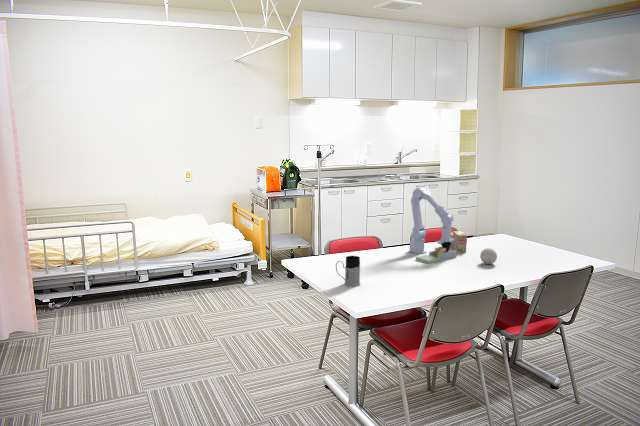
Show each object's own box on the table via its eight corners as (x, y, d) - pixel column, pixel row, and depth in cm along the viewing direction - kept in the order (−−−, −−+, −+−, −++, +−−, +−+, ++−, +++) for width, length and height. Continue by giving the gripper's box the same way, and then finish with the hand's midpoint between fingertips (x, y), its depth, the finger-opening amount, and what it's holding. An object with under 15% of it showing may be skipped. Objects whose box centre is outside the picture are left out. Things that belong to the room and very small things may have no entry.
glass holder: (363, 285, 280) (363, 258, 277) (338, 288, 275) (338, 261, 273) (356, 281, 288) (357, 254, 286) (332, 283, 283) (333, 256, 281)
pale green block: (415, 260, 333) (416, 253, 332) (444, 254, 348) (444, 247, 348) (429, 264, 323) (430, 257, 323) (458, 257, 339) (458, 251, 338)
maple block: (434, 255, 338) (434, 247, 337) (439, 254, 340) (440, 246, 340) (440, 256, 334) (440, 249, 333) (445, 255, 336) (446, 248, 336)
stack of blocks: (448, 245, 374) (449, 228, 372) (456, 245, 374) (457, 228, 372) (457, 252, 353) (458, 235, 351) (466, 252, 353) (467, 235, 351)
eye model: (481, 265, 321) (482, 250, 319) (478, 261, 331) (479, 246, 329) (497, 266, 320) (499, 250, 318) (494, 262, 329) (495, 246, 328)
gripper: (443, 235, 330) (442, 256, 332) (458, 232, 338) (457, 252, 341) (435, 233, 336) (434, 253, 338) (450, 230, 344) (449, 250, 346)
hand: (445, 253), depth 340 cm, fingers closed
